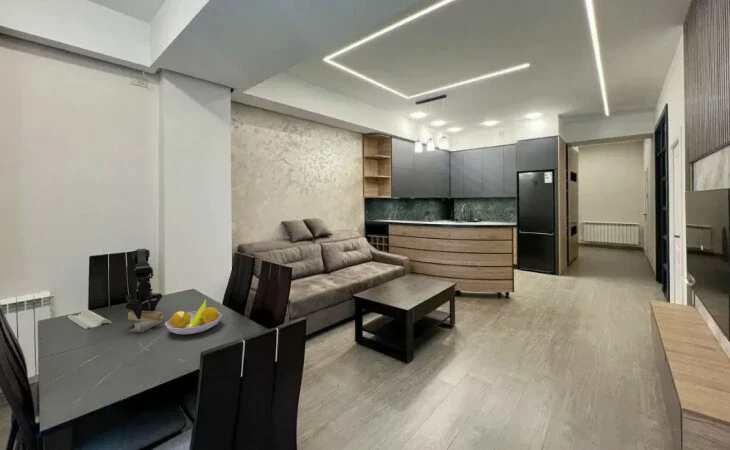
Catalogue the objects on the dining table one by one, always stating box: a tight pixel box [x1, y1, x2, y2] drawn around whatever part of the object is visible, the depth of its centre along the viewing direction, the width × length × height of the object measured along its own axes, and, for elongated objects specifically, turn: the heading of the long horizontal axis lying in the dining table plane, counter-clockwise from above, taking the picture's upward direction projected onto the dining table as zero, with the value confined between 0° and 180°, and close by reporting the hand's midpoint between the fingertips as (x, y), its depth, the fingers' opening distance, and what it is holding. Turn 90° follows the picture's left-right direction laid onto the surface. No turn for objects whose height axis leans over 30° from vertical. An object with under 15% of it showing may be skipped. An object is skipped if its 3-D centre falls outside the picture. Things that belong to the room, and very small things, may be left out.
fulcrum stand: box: [128, 320, 164, 333], centre depth 168 cm, size 14×8×4 cm, turn 175°
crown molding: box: [67, 308, 113, 330], centre depth 179 cm, size 31×12×4 cm, turn 57°
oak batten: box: [127, 310, 164, 322], centre depth 168 cm, size 4×18×4 cm, turn 81°
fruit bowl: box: [164, 299, 223, 336], centre depth 166 cm, size 28×27×11 cm
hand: (145, 316), depth 168 cm, fingers open, 9 cm apart
